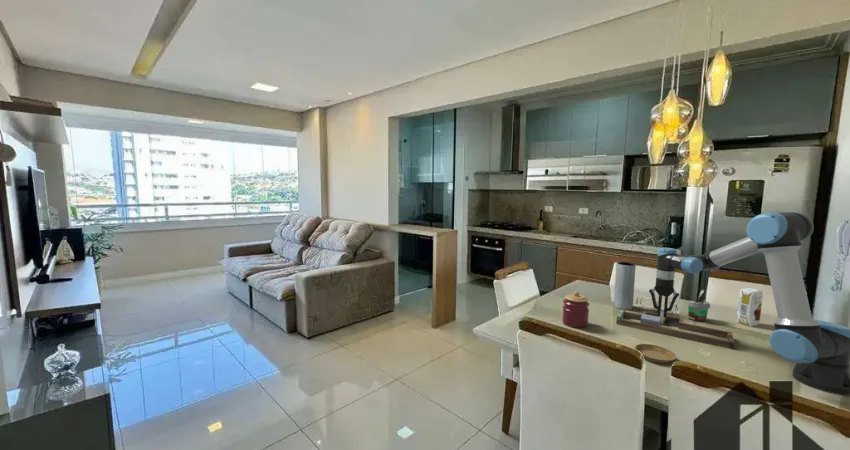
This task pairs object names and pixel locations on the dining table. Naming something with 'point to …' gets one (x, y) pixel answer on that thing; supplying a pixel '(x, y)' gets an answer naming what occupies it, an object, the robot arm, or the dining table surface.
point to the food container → (698, 311)
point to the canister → (575, 310)
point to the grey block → (650, 319)
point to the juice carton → (749, 306)
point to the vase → (624, 285)
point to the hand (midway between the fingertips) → (661, 322)
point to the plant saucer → (655, 353)
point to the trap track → (676, 333)
